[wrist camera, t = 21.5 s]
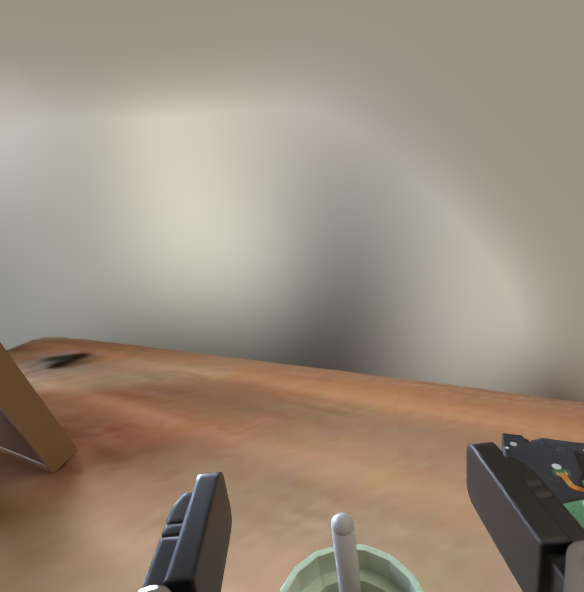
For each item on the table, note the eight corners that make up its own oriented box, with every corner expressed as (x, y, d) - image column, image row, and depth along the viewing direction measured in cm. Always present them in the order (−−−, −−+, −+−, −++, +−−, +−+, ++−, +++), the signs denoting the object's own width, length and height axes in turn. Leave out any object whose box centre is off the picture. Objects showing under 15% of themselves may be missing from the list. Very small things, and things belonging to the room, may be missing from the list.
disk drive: (499, 450, 51) (515, 547, 38) (499, 432, 50) (515, 524, 37) (595, 463, 46) (650, 576, 33) (597, 443, 46) (654, 551, 33)
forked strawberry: (341, 705, 28) (319, 556, 24) (322, 636, 32) (301, 501, 28) (399, 681, 28) (387, 534, 25) (373, 617, 33) (359, 484, 29)
